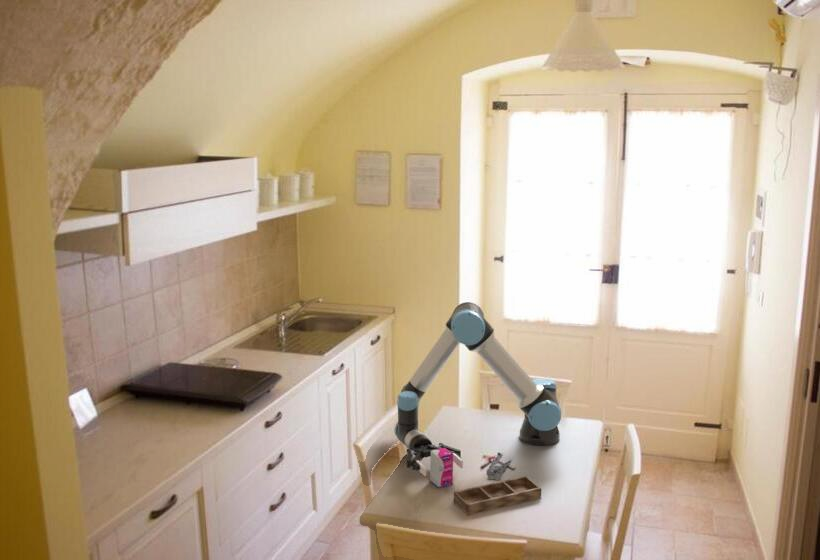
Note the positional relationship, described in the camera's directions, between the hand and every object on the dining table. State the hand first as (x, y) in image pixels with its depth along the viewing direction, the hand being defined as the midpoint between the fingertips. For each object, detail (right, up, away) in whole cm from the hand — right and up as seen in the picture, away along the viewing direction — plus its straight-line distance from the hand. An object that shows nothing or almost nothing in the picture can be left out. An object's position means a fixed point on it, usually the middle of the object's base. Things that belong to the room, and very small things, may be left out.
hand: (443, 468), depth 258 cm
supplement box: (-1, -6, +3) cm, 7 cm away
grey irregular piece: (+20, -4, +15) cm, 25 cm away
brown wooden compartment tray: (+17, -8, -8) cm, 21 cm away
